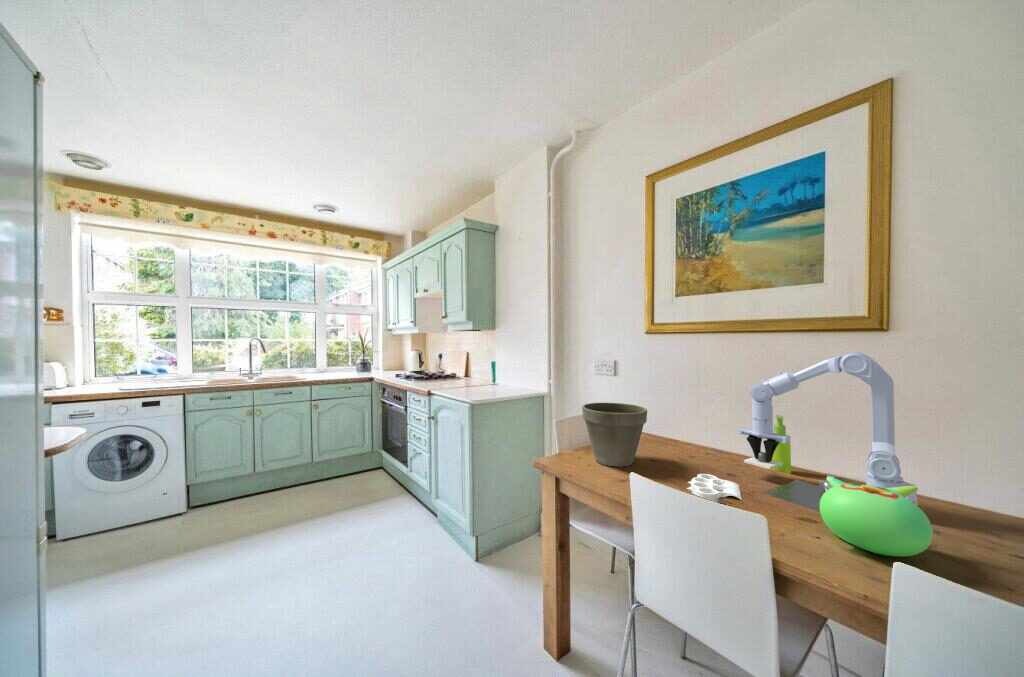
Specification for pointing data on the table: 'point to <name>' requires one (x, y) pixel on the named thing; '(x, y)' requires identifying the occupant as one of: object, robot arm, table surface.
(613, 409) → the plant pot
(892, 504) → the toy bird
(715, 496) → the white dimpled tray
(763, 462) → the cover
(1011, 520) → the table surface
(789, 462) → the soap dispenser
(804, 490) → the panel
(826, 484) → the t key
